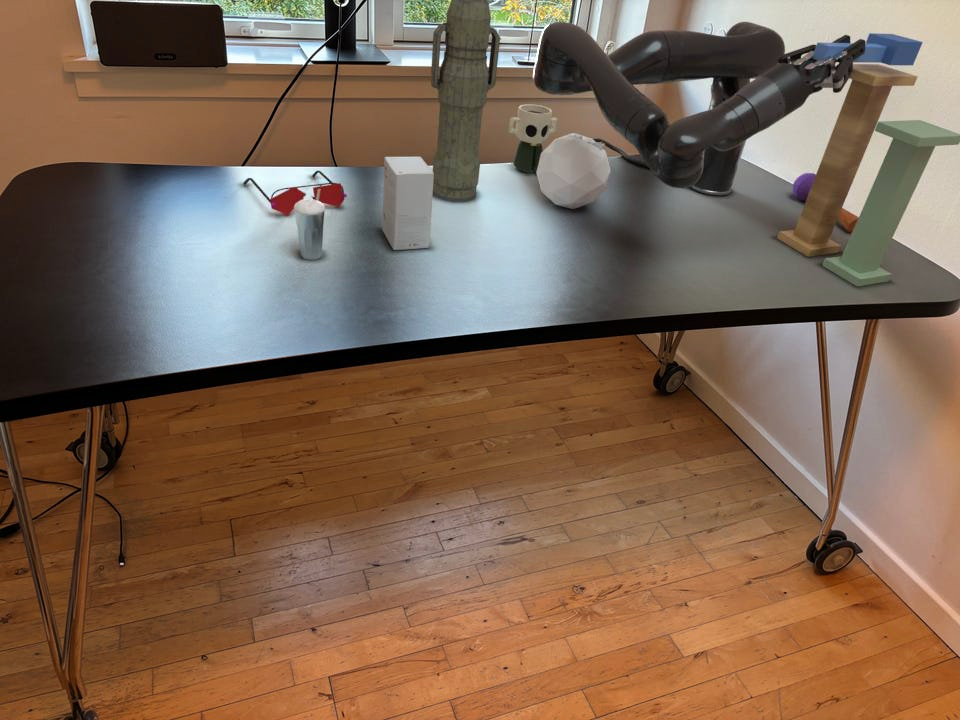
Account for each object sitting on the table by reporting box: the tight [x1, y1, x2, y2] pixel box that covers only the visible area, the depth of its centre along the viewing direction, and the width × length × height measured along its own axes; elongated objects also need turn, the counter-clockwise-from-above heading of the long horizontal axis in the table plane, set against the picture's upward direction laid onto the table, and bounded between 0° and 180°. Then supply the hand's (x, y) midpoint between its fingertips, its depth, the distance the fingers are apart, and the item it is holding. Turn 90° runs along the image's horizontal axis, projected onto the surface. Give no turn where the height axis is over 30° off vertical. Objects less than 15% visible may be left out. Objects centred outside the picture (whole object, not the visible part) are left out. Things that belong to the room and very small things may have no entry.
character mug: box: [508, 103, 558, 173], centre depth 151 cm, size 11×7×13 cm, turn 109°
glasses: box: [242, 170, 348, 216], centre depth 129 cm, size 14×16×5 cm
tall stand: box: [776, 63, 918, 258], centre depth 126 cm, size 10×8×32 cm
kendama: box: [792, 172, 859, 234], centre depth 150 cm, size 6×6×20 cm
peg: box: [813, 32, 923, 66], centre depth 114 cm, size 18×6×4 cm, turn 114°
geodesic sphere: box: [535, 132, 612, 210], centre depth 137 cm, size 15×14×14 cm
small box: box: [381, 156, 434, 251], centre depth 117 cm, size 8×6×13 cm
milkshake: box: [293, 189, 326, 261], centre depth 110 cm, size 4×5×10 cm
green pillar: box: [822, 119, 960, 288], centre depth 120 cm, size 10×8×26 cm
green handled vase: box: [430, 0, 501, 203], centre depth 130 cm, size 9×12×35 cm
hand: (855, 42), depth 112 cm, fingers closed on peg, 2 cm apart
